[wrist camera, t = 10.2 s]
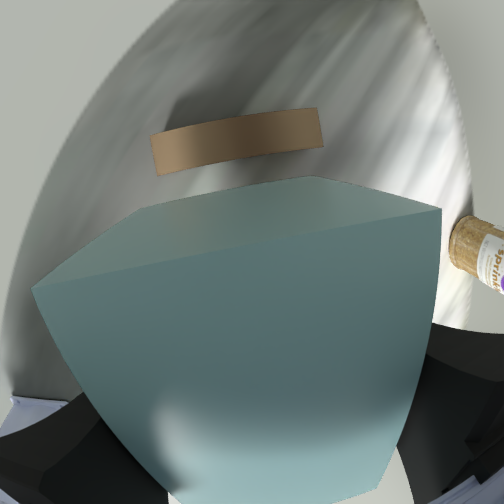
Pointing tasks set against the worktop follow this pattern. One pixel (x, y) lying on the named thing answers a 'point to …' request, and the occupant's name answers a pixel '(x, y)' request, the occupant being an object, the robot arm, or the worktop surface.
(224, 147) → the strip
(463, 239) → the sprinkles bottle
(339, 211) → the pale mint block
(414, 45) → the worktop surface
